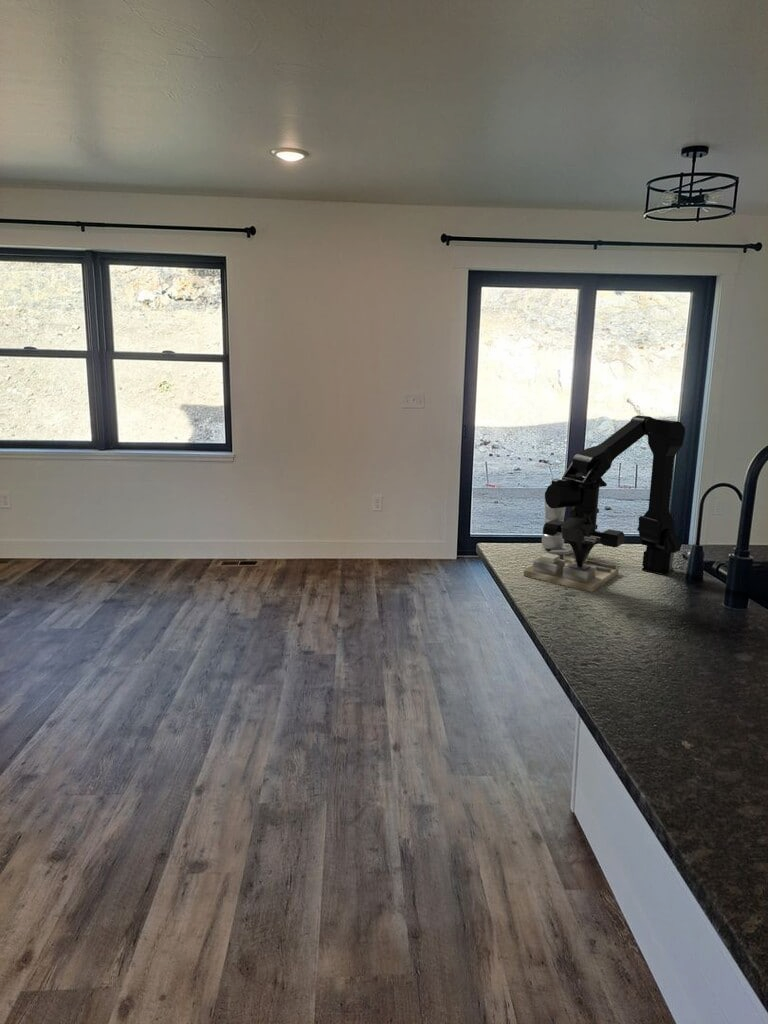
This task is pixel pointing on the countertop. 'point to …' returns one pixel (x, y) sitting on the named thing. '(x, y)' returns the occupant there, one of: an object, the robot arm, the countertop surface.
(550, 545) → the plastic bottle
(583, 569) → the charcoal button
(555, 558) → the cream button
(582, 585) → the panel
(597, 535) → the robot arm
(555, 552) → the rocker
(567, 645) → the countertop surface
